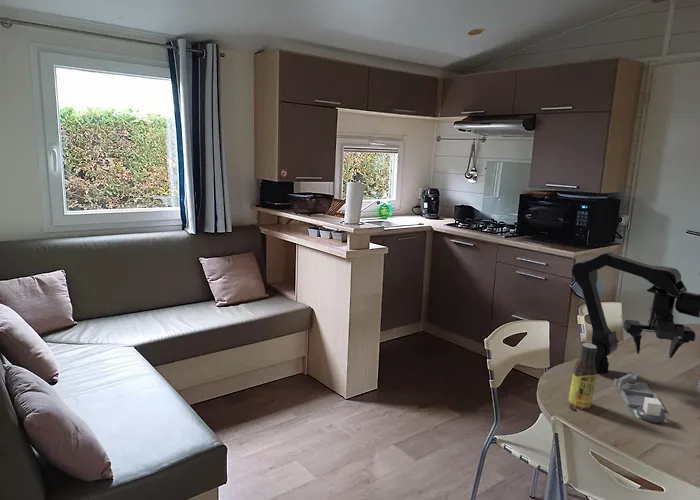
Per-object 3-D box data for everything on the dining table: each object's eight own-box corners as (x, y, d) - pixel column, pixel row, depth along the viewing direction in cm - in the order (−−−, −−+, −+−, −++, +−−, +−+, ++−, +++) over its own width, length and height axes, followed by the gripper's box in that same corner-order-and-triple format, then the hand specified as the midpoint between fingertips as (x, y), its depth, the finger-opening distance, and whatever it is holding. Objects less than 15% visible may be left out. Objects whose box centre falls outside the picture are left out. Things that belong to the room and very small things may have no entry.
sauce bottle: (576, 414, 149) (586, 350, 145) (562, 403, 155) (571, 342, 150) (595, 412, 151) (605, 349, 146) (581, 401, 157) (590, 340, 152)
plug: (640, 420, 144) (643, 404, 143) (633, 407, 151) (636, 393, 150) (668, 424, 143) (671, 409, 142) (660, 412, 149) (663, 397, 148)
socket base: (632, 420, 147) (633, 414, 146) (612, 381, 170) (613, 375, 170) (670, 427, 144) (672, 419, 144) (645, 386, 168) (646, 380, 167)
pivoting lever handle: (612, 387, 162) (613, 379, 161) (629, 379, 169) (630, 370, 168) (620, 391, 160) (621, 382, 159) (637, 382, 167) (638, 373, 166)
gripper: (636, 313, 153) (627, 361, 156) (707, 321, 148) (697, 371, 152) (626, 301, 163) (619, 347, 167) (692, 309, 159) (683, 355, 162)
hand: (653, 355), depth 161 cm, fingers open, 9 cm apart
